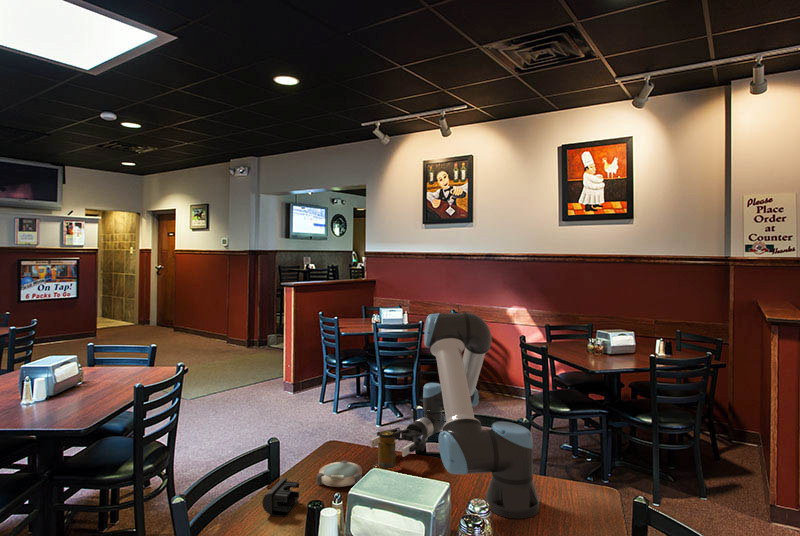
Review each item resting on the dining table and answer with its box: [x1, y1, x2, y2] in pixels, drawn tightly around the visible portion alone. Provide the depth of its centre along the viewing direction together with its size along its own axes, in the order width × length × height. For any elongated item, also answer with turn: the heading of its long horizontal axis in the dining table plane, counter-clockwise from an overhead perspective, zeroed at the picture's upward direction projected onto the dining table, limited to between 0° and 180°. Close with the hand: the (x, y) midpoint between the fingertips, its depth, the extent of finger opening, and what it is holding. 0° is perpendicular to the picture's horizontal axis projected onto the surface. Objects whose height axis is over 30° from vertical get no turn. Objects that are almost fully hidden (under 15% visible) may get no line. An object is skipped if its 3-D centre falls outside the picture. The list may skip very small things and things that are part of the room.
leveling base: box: [316, 459, 363, 488], centre depth 154 cm, size 14×15×4 cm
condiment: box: [374, 430, 397, 470], centre depth 162 cm, size 7×8×12 cm
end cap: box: [261, 477, 300, 518], centre depth 135 cm, size 10×7×7 cm
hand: (386, 448), depth 162 cm, fingers open, 13 cm apart
